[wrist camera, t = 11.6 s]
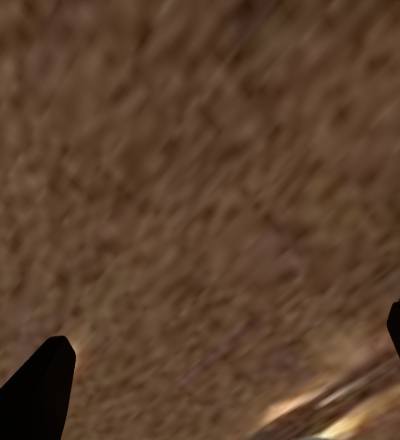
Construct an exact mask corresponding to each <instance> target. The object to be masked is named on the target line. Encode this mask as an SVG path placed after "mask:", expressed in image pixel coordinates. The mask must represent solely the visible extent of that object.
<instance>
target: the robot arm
mask: <svg viewBox="0 0 400 440" xmlns="http://www.w3.org/2000/svg"><path fill="white" fill-rule="evenodd" d="M387 328H388V331H389V334H390V336H391V339H392V341H393V343H394V346H395V348H396V351H397V353H398V356H399V358H400V299H399V302H394V303H393V304H392V307H391V310H390V313H389V316H388V319H387ZM75 362H76V354H75V351H74V349H73V348H72V346H71V344H70V343H69V341H68V339H67V338H66V337H65V336H53V337H50V338H48V339H47V340H46V341H45V342H44V343H43V344H42V345H41V346H40V347H39V348H38V349H37V350H36V351H35V353H34V354H33V355H32V356H31V357H30V358H29V359H28V360H27V361H26V362H25V363H24V364H23V365H22V366H21V367H20V368H19V369H18V370H17V372H16V373H15V374H14V375H13V376H12V377H11V378H10V379H9V380H8V381H7V382H6V383H5V384H4V385H3V386H2V387H1V388H0V440H61V436H62V432H63V429H64V425H65V421H66V416H67V411H68V406H69V399H70V393H71V387H72V381H73V375H74V369H75Z"/></svg>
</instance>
